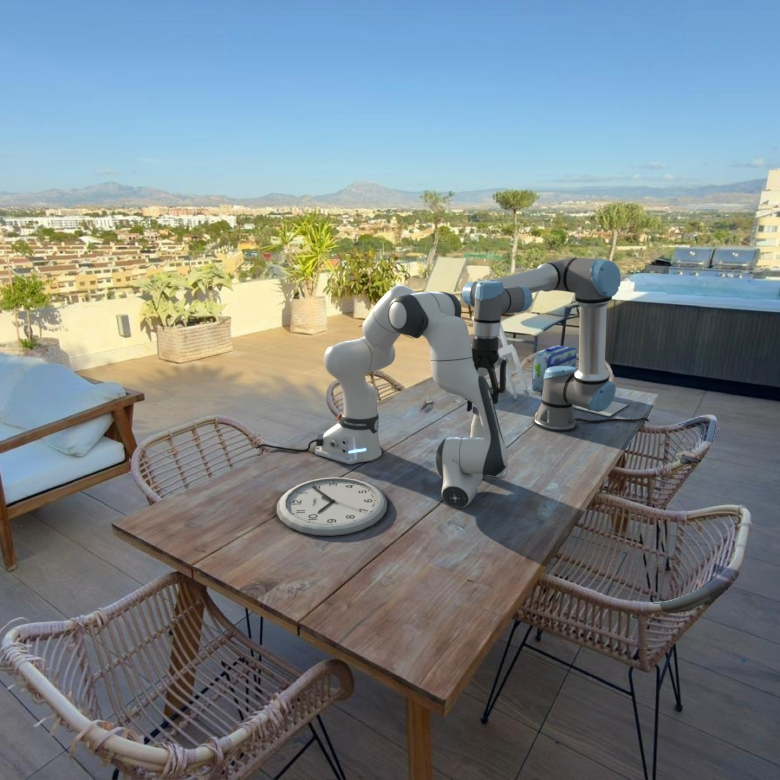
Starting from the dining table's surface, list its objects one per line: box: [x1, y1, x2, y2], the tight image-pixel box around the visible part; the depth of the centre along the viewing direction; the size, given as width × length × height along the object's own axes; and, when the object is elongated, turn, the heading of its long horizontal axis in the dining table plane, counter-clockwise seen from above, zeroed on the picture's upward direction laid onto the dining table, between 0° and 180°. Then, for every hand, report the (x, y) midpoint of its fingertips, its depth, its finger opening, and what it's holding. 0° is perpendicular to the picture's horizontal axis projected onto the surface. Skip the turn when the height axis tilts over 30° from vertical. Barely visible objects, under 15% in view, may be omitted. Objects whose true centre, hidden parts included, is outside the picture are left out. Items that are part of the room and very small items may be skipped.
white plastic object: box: [471, 320, 531, 400], centre depth 245 cm, size 37×45×31 cm
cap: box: [472, 404, 479, 415], centre depth 157 cm, size 5×5×2 cm
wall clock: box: [276, 476, 388, 537], centre depth 142 cm, size 30×2×30 cm
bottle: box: [469, 414, 484, 437], centre depth 160 cm, size 5×5×22 cm
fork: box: [420, 395, 435, 411], centre depth 224 cm, size 3×16×2 cm, turn 160°
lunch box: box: [531, 345, 577, 393], centre depth 245 cm, size 26×11×21 cm, turn 134°
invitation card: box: [573, 400, 629, 418], centre depth 226 cm, size 21×1×15 cm
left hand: (477, 454), depth 162 cm, fingers closed on bottle, 5 cm apart
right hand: (480, 411), depth 157 cm, fingers open, 6 cm apart
